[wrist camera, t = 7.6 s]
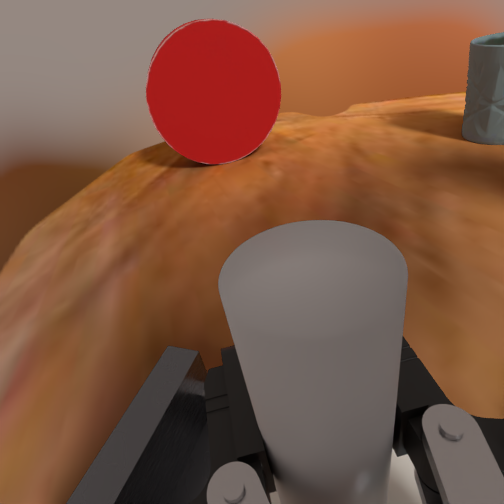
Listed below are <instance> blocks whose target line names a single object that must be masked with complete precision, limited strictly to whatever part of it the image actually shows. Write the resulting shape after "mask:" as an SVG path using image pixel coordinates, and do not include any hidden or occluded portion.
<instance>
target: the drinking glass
mask: <svg viewBox="0 0 504 504" xmlns="http://www.w3.org/2000/svg"><path fill="white" fill-rule="evenodd" d="M467 76H468V80H467V84H468V86H467V90H466V98H465V101H466V104H465V110H464V117H463V125H462V136H463V138H465V139H466V140H468V141H471V142H475V143H479V144H488V145H504V32H503V33H496V34H492V35H487V36H483V37H479V38H476V39H474V40H472V41H471V43H470V52H469V70H468V75H467Z"/></svg>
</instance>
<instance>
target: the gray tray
mask: <svg viewBox="0 0 504 504" xmlns="http://www.w3.org/2000/svg"><path fill="white" fill-rule="evenodd" d="M206 376H207V372H206V369H205V366H204V364H203V361H202V358H201V356H200V353H199V351H194V350H189V349H183V348H178V347H172V346H168V347H167V348H166V350H165V351H164V353H163V355H162V356H161V358H160V359H159V361H158V362H157V364H156V365H155V367H154V368H153V370H152V372H151V373H150V375H149V376H148V378H147V379H146V381H145V382H144V384H143V385H142V387H141V389H140V390H139V392H138V393H137V395H136V396H135V398H134V399H133V401H132V402H131V404H130V406H129V407H128V409H127V410H126V412H125V413H124V415H123V416H122V418H121V420H120V421H119V423H118V424H117V426H116V427H115V429H114V430H113V432H112V433H111V435H110V437H109V438H108V440H107V441H106V443H105V444H104V446H103V447H102V449H101V450H100V452H99V454H98V455H97V457H96V458H95V460H94V461H93V463H92V464H91V466H90V467H89V469H88V471H87V472H86V474H85V475H84V477H83V478H82V480H81V481H80V483H79V484H78V486H77V488H76V489H75V491H74V492H73V494H72V495H71V497H70V498H69V500H68V502H67V503H66V504H188V503H190V502H191V501H192V500H194V499H195V498H196V497H197V496H198V495H199V494H200V493H201V491H202V490H203V489H204V487H205V485H206V483H207V481H208V478H209V475H210V469H211V460H210V449H209V438H208V426H207V413H206V401H205V392H204V382H205V379H206Z"/></svg>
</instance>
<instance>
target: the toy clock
mask: <svg viewBox="0 0 504 504" xmlns="http://www.w3.org/2000/svg"><path fill="white" fill-rule="evenodd" d="M146 97H147V105H148V109H149V113H150V116H151V119H152V121H153V123H154V126H155V127H156V129H157V131H158V132H159V134H160V136H161V137H162V138H163V139H164V140H165V141H166V143H167V144H168V145H169V146H170V147H172V148H173V149H174V150H175V151H176V152H178V153H179V154H181V155H183V156H184V157H186V158H188V159H191V160H194V161H196V162H200V163H205V164H224V163H230V162H233V161H236V160H239V159H241V158H243V157H245V156H247V155H249V154H250V153H251V152H253V151H254V150H255V149H257V148H258V147H259V146H260V145H261V144H262V143H263V141H264V140H265V139H266V138H267V136H268V135H269V133H270V132H271V130H272V128H273V126H274V124H275V122H276V120H277V116H278V113H279V109H280V101H281V83H280V78H279V73H278V70H277V67H276V64H275V62H274V59H273V58H272V56H271V54H270V52H269V51H268V49H267V48H266V47H265V45H264V44H263V43H262V42H261V41H260V39H259V38H258V37H256V36H255V35H254V34H253V33H252V32H250V31H249V30H247V29H246V28H244V27H242V26H240V25H238V24H235V23H232V22H229V21H226V20H217V19H201V20H194V21H191V22H188V23H185V24H183V25H181V26H179V27H178V28H176V29H174V30H173V31H172V32H171V33H170V34H168V35H167V36H166V37H165V38H164V39H163V41H162V42H161V43H160V45H159V46H158V47H157V49H156V51H155V53H154V55H153V57H152V60H151V63H150V67H149V70H148V75H147V83H146Z"/></svg>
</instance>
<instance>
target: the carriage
mask: <svg viewBox="0 0 504 504" xmlns="http://www.w3.org/2000/svg"><path fill="white" fill-rule="evenodd" d="M407 282H408V269H407V265H406V262H405V259H404V257H403V255H402V254H401V252H400V251H399V250H398V248H397V247H396V246H395V245H394V244H393V243H392V242H391V241H390V240H388V239H387V238H385V237H384V236H382V235H381V234H379V233H377V232H375V231H373V230H371V229H368V228H366V227H363V226H359V225H356V224H352V223H347V222H341V221H332V220H310V221H300V222H294V223H289V224H284V225H281V226H277V227H274V228H271V229H268V230H266V231H264V232H261V233H259V234H257V235H255V236H254V237H252V238H250V239H248V240H247V241H245V242H244V243H242V244H241V245H240V246H239V247H238V248H236V249H235V250H234V251H233V253H232V254H231V255H230V256H229V257H228V259H227V260H226V261H225V263H224V265H223V267H222V269H221V272H220V275H219V281H218V286H219V293H220V297H221V300H222V304H223V307H224V310H225V314H226V317H227V321H228V324H229V328H230V331H231V334H232V338H233V341H234V345H235V348H236V352H237V355H238V358H239V362H240V365H241V369H242V372H243V375H244V379H245V382H246V386H247V389H248V393H249V396H250V399H251V403H252V406H253V410H254V413H255V417H256V420H257V423H258V427H259V429H260V432H261V435H262V438H263V442H264V445H265V449H266V452H267V456H268V459H269V462H270V466H271V469H272V473H273V477H274V481H275V486H276V491H275V492H272V493H270V498H271V503H272V504H422V500H421V497H420V494H419V490H418V487H417V484H416V480H415V477H414V465H413V463H412V461H411V459H410V458H409V456H408V454H406V455H403V456H399V457H397V456H396V454H395V452H394V450H393V448H392V446H393V435H394V424H395V413H396V402H397V391H398V380H399V369H400V358H401V347H402V336H403V326H404V315H405V304H406V293H407Z"/></svg>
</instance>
